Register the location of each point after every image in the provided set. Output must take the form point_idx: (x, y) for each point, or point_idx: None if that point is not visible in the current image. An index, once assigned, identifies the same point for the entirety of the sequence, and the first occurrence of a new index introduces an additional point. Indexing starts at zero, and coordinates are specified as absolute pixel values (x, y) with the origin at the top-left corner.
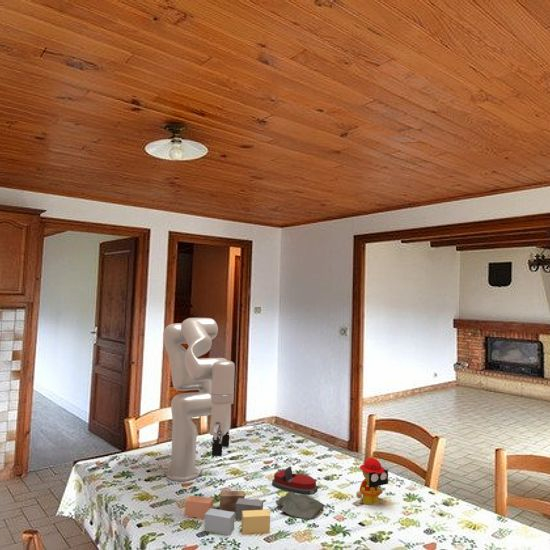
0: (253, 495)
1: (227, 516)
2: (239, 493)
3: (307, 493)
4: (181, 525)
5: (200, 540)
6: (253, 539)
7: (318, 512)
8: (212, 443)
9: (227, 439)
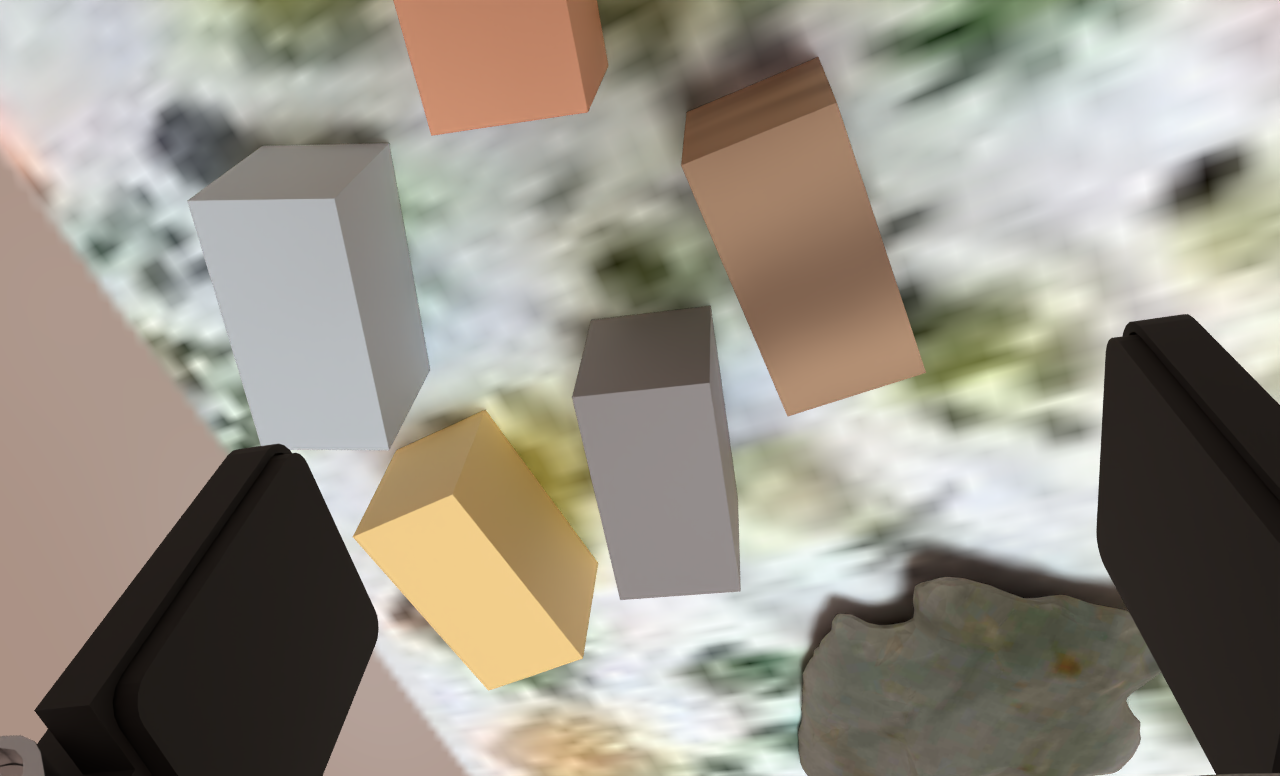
0: (1181, 304)
1: (281, 419)
2: (835, 347)
3: None
4: None
5: (114, 190)
6: None
7: None
8: (47, 702)
9: (1192, 699)
